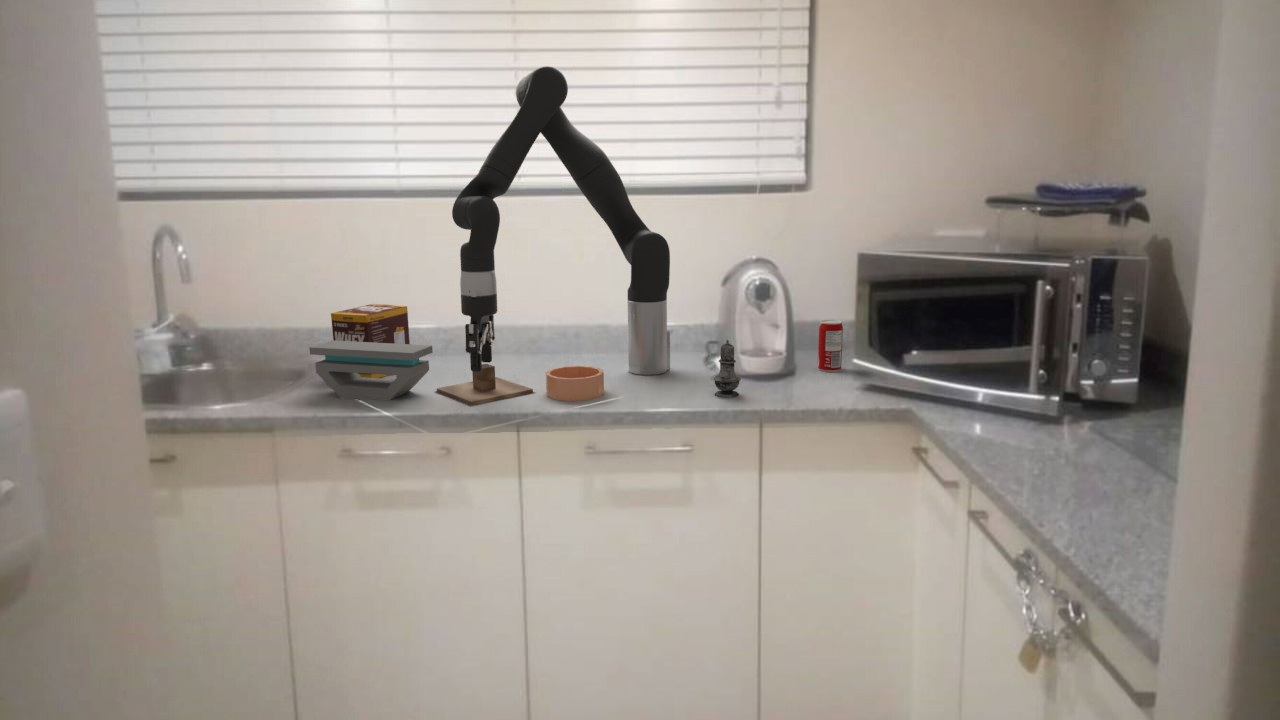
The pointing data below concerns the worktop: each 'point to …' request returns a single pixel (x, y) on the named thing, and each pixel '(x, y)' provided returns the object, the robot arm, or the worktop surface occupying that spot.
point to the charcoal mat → (481, 403)
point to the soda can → (830, 345)
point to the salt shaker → (727, 373)
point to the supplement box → (372, 326)
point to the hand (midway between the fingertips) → (481, 366)
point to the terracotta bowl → (574, 383)
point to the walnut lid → (484, 388)
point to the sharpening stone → (370, 368)
